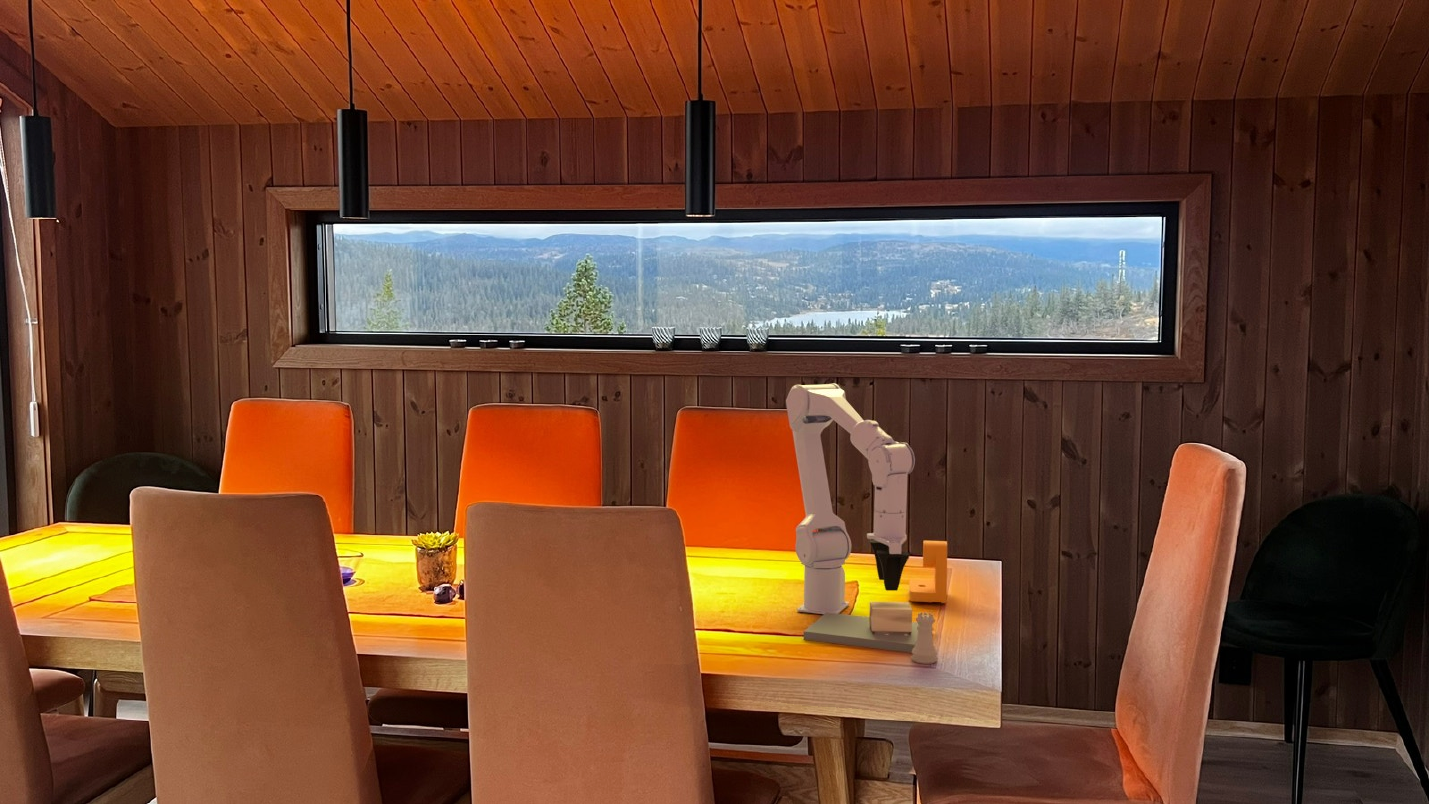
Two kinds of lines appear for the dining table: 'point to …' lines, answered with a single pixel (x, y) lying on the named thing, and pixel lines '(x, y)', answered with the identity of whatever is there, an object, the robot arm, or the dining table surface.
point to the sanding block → (890, 617)
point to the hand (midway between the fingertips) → (888, 584)
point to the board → (858, 633)
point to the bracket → (938, 587)
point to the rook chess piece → (924, 640)
